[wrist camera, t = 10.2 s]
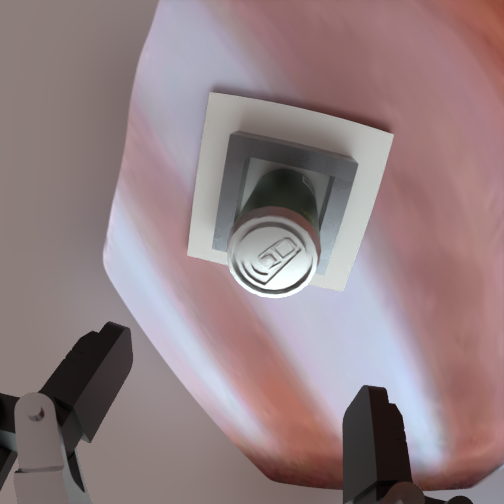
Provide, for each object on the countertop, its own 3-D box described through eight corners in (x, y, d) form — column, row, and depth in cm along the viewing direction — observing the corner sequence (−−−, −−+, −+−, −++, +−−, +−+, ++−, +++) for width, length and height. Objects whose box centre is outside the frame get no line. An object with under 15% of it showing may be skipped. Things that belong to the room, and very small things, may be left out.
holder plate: (212, 92, 26) (209, 91, 25) (390, 133, 25) (393, 134, 24) (190, 251, 33) (187, 255, 32) (341, 286, 32) (342, 292, 31)
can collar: (237, 130, 26) (229, 133, 23) (352, 157, 25) (358, 163, 23) (219, 235, 31) (211, 248, 28) (322, 259, 30) (324, 275, 27)
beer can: (288, 154, 26) (276, 190, 16) (328, 201, 27) (341, 267, 17) (242, 192, 28) (202, 252, 18) (281, 236, 30) (266, 316, 19)
